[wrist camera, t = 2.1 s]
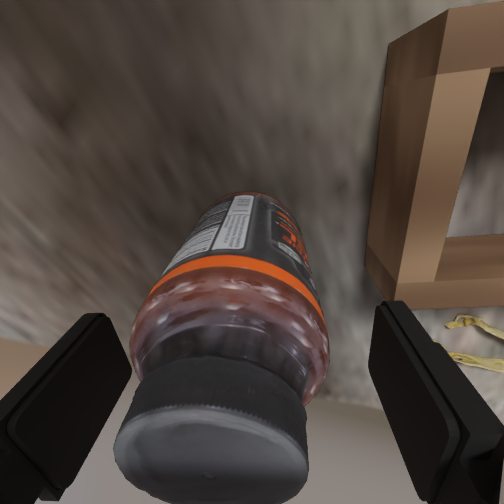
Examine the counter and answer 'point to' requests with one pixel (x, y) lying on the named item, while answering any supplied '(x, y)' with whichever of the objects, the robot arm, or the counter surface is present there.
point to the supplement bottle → (227, 362)
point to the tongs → (471, 360)
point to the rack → (434, 163)
